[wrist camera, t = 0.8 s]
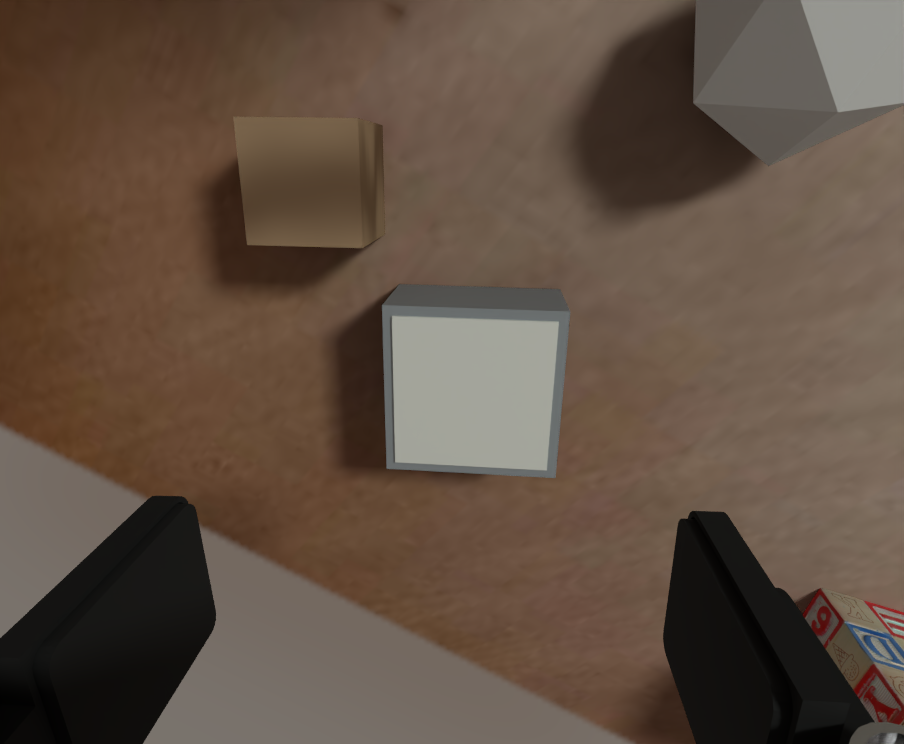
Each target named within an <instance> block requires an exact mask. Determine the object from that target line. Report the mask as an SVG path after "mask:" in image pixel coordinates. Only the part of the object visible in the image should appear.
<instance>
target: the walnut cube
mask: <svg viewBox="0 0 904 744" xmlns="http://www.w3.org/2000/svg"><path fill="white" fill-rule="evenodd" d="M233 120H234V129H235V138H236V147H237V157H238V166H239V175H240V184H241V194H242V203H243V212H244V221H245V231H246V240H247V245H264V246H301V247H338V248H364V247H365V246H367V245H369V244H370V243H372V242H373V241H375V240H377V239H378V238H380V237H381V236H383V235H385V210H384V171H383V131H382V125H379V124H376V123H372V122H369V121H366V120H363V119H359V118H308V117H233Z"/></svg>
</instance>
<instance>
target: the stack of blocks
mask: <svg viewBox="0 0 904 744" xmlns="http://www.w3.org/2000/svg"><path fill="white" fill-rule="evenodd" d="M803 616H804V618H805V619H806V621H807V622H808V624H809V625H810V627H811V628H812V630H813V631H814V633H815V634H816V636H817V637H818V639H819V640H820V641H821V643H822V644H823V646H824V647H825V649H826V650H827V652H828V653H829V655H830V656H831V658H832V659H833V661H834V662H835V664H836V665H837V667H838V668H839V670H840V671H841V673H842V674H843V675H844V677H845V678H846V680H847V681H848V683H849V684H850V686H851V687H852V689H853V690H854V692H855V693H856V695H857V696H858V698H859V699H860V701H861V702H862V704H863V705H864V706H865V708H866V709H867V711H868V712H869V714H870V715H871V717H872V718H873V720H874V721H875V722H889V723H894V724H898V725H903V726H904V613H903V612H900V611H897V610H894V609H890V608H887V607H883V606H880V605H877V604H873V603H870V602H866V601H862V600H860V599H857V598H854V597H851V596H847V595H844V594H841V593H837V592H834V591H830V590H827V589H823V588H820V589H819V590H818V592H817V593H816V595H815V596H814V598H813V599H812V601H811V602H810V604H809V605H808V607H807V608H806V610H805V611H804V613H803Z"/></svg>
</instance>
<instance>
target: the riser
mask: <svg viewBox="0 0 904 744" xmlns="http://www.w3.org/2000/svg"><path fill="white" fill-rule="evenodd" d="M569 319H570V310H569V308H568V306H567V303H566V301H565V299H564V297H563V295H562V292H561V290H560V289H534V288H502V287H470V286H438V285H407V284H399V285H398V286H397V288H396V289H395V290H394V291H393V292H392V294H391V295H390V296H389V297H388V298H387V300H386V301H385V302H384V303H383V304H382V325H383V360H384V394H385V429H386V464H387V469H402V470H420V471H438V472H457V473H475V474H493V475H511V476H529V477H547V478H555V476H556V465H557V454H558V443H559V432H560V420H561V409H562V398H563V387H564V375H565V364H566V353H567V342H568V330H569Z"/></svg>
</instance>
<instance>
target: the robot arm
mask: <svg viewBox="0 0 904 744" xmlns="http://www.w3.org/2000/svg"><path fill="white" fill-rule="evenodd" d="M215 621H216V610H215V605H214V600H213V595H212V590H211V584H210V579H209V575H208V569H207V564H206V559H205V554H204V550H203V544H202V539H201V533H200V528H199V523H198V518H197V513H196V509H195V507H194V506H193V505H192V504H188V501H187V500H186V499H185V498H184V497H182V496H152V497H151V498H149V499H148V500H147V501H146V502H145V503H144V504H143V505H141V506H140V507H139V508H138V509H137V510H136V511H135V512H134V513H133V514H132V515H131V516H130V517H129V518H128V519H127V520H126V521H124V522H123V523H122V524H121V525H120V526H119V527H118V528H117V529H116V530H115V531H114V532H113V533H112V534H111V535H110V536H109V537H107V538H106V539H105V540H104V541H103V542H102V543H101V544H100V545H99V546H98V547H97V548H96V549H95V550H94V551H93V552H92V553H90V555H88V556H87V557H86V558H85V559H84V560H83V561H82V562H81V563H80V564H79V565H78V566H77V567H76V568H75V569H73V570H72V571H71V572H70V573H69V574H68V575H67V576H66V577H65V578H64V579H63V580H62V581H61V582H60V583H59V584H58V585H57V586H55V588H53V589H52V590H51V591H50V592H49V593H48V594H47V595H46V596H45V597H44V598H43V599H42V600H41V601H39V602H38V603H37V604H36V605H35V606H34V607H33V608H32V609H31V610H30V611H29V612H28V613H27V614H26V615H25V616H24V617H23V618H22V619H20V620H19V621H18V622H17V623H16V624H15V625H14V626H13V627H12V628H11V629H10V630H9V631H8V632H7V633H6V634H4V635H3V636H2V637H1V638H0V744H143V742H144V740H145V739H146V738H147V736H148V734H149V733H150V731H151V729H152V728H153V726H154V725H155V723H156V721H157V720H158V718H159V716H160V715H161V713H162V712H163V710H164V709H165V707H166V705H167V704H168V702H169V700H170V699H171V697H172V695H173V694H174V692H175V691H176V689H177V688H178V686H179V684H180V683H181V681H182V679H183V678H184V676H185V675H186V673H187V671H188V670H189V668H190V667H191V665H192V663H193V662H194V660H195V659H196V657H197V655H198V654H199V652H200V650H201V649H202V647H203V646H204V644H205V642H206V641H207V639H208V638H209V636H210V634H211V633H212V631H213V628H214V625H215ZM663 641H664V648H665V653H666V656H667V659H668V662H669V665H670V668H671V671H672V674H673V677H674V680H675V683H676V686H677V689H678V692H679V695H680V697H681V700H682V703H683V706H684V709H685V712H686V715H687V718H688V721H689V724H690V727H691V730H692V733H693V736H694V739H695V741H696V744H904V726H903V725H898V724H894V723H889V722H875V721H874V720H873V718H872V717H871V715H870V714H869V712H868V711H867V709H866V708H865V706H864V705H863V704H862V702H861V701H860V699H859V698H858V696H857V695H856V693H855V692H854V690H853V689H852V687H851V686H850V684H849V683H848V681H847V680H846V678H845V677H844V675H843V674H842V673H841V671H840V670H839V668H838V667H837V665H836V664H835V662H834V661H833V659H832V658H831V656H830V655H829V653H828V652H827V650H826V649H825V647H824V646H823V644H822V643H821V641H820V640H819V639H818V637H817V636H816V634H815V633H814V631H813V630H812V628H811V627H810V625H809V624H808V622H807V621H806V619H805V618H804V616H803V615H802V613H801V612H800V610H799V609H798V607H797V606H796V605H795V603H794V602H793V600H792V599H791V597H790V596H789V595H788V594H787V593H786V592H785V591H784V590H782V589H780V588H775V587H774V585H773V584H772V582H771V581H770V579H769V578H768V576H767V575H766V573H765V572H764V570H763V569H762V567H761V566H760V564H759V563H758V561H757V559H756V558H755V556H754V555H753V553H752V552H751V550H750V549H749V547H748V546H747V544H746V543H745V541H744V540H743V538H742V537H741V535H740V534H739V532H738V530H737V529H736V527H735V526H734V524H733V523H732V521H731V520H730V518H729V517H728V515H727V514H726V513H724V512H708V511H692V512H690V514H689V516H688V519H680V521H679V523H678V529H677V536H676V543H675V551H674V558H673V566H672V573H671V580H670V588H669V595H668V603H667V610H666V617H665V625H664V633H663Z"/></svg>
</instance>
